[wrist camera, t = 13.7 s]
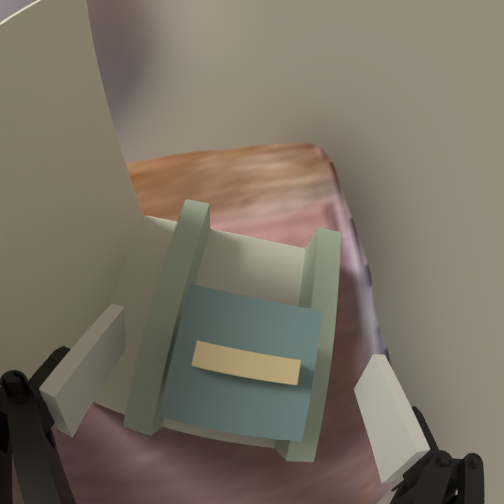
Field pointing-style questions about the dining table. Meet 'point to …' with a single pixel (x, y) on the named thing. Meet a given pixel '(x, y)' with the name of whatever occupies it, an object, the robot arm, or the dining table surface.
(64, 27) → the pale green rail stand
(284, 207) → the dining table surface
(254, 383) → the teal block with bar
